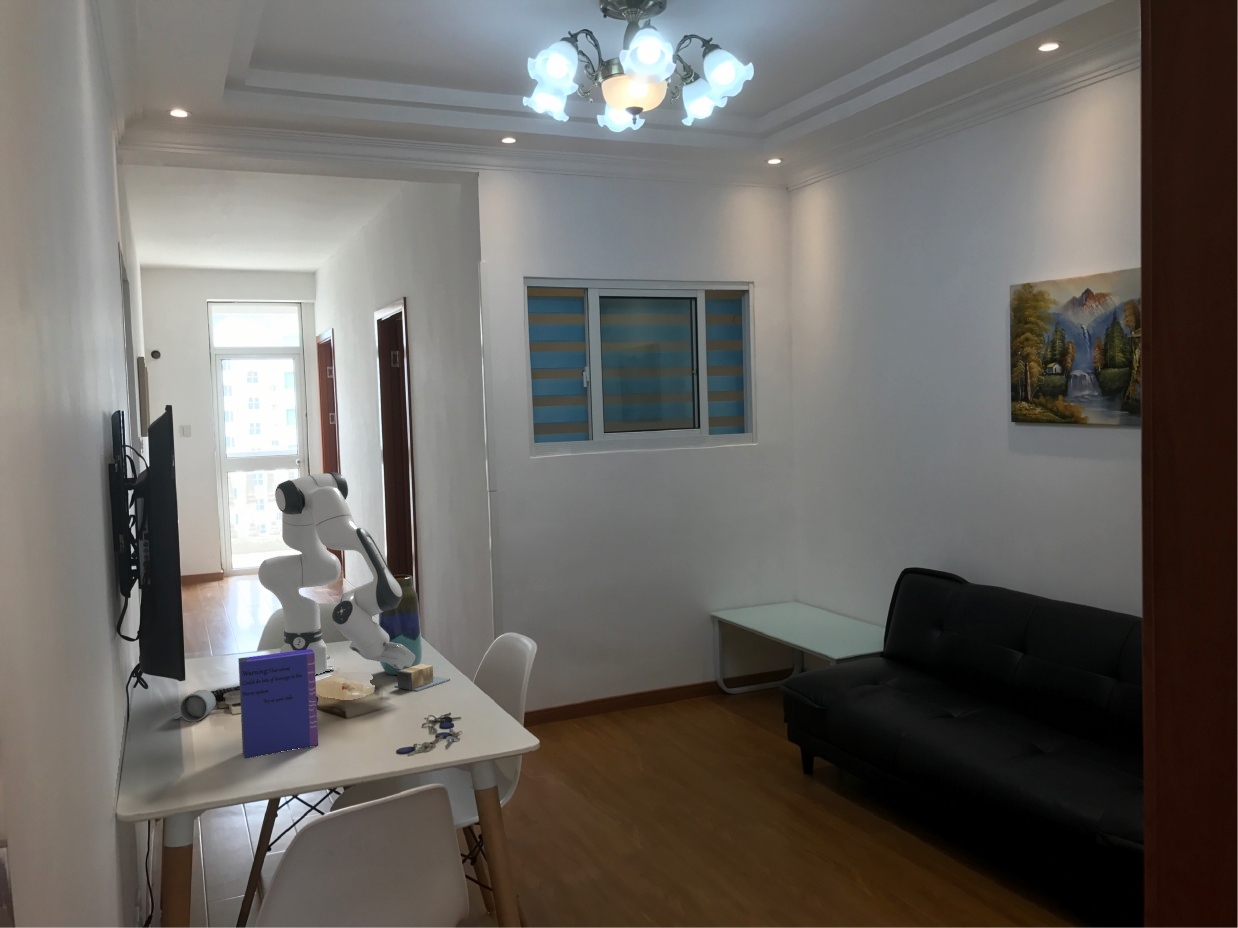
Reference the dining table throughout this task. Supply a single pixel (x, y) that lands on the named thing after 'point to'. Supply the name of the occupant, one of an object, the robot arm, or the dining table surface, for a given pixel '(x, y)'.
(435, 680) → the rubber mat
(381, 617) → the vase
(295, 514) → the robot arm
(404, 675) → the oak block
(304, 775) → the dining table surface
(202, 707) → the ceramic mug
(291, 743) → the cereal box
